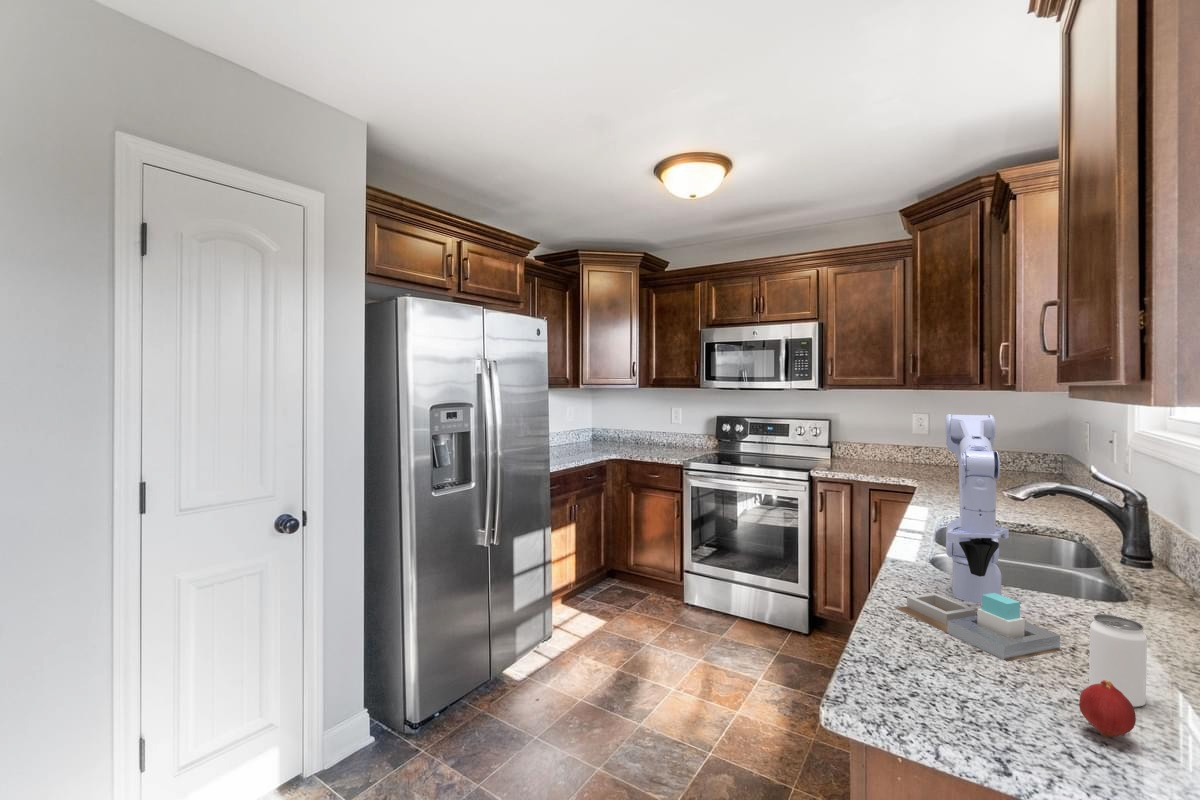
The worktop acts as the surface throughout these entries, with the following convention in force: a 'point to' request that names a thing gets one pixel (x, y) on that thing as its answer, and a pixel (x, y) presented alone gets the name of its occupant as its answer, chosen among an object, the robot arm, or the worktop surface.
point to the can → (1119, 656)
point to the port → (1003, 638)
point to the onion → (1107, 709)
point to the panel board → (944, 628)
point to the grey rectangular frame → (953, 608)
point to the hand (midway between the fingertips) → (977, 574)
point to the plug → (1001, 615)
